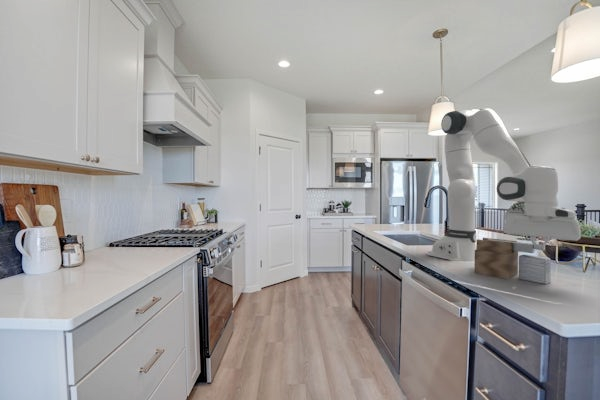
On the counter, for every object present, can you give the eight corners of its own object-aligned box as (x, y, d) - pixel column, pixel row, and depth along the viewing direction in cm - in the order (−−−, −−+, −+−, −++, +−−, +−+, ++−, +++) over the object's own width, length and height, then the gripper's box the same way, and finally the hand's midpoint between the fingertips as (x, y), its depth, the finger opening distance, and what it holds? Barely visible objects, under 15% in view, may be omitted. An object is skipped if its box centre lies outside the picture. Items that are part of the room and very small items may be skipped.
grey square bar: (486, 247, 106) (486, 239, 106) (489, 246, 108) (489, 239, 108) (532, 253, 95) (532, 244, 95) (534, 252, 97) (534, 244, 97)
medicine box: (550, 282, 94) (551, 258, 94) (546, 284, 92) (546, 259, 92) (523, 276, 101) (523, 254, 101) (518, 278, 98) (518, 255, 98)
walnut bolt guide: (474, 272, 106) (474, 240, 106) (485, 267, 113) (485, 237, 113) (508, 279, 97) (509, 244, 97) (517, 273, 105) (518, 240, 105)
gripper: (502, 209, 101) (501, 246, 101) (580, 212, 85) (578, 256, 85) (506, 209, 105) (506, 244, 105) (582, 212, 89) (581, 253, 89)
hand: (539, 249), depth 95 cm, fingers closed
